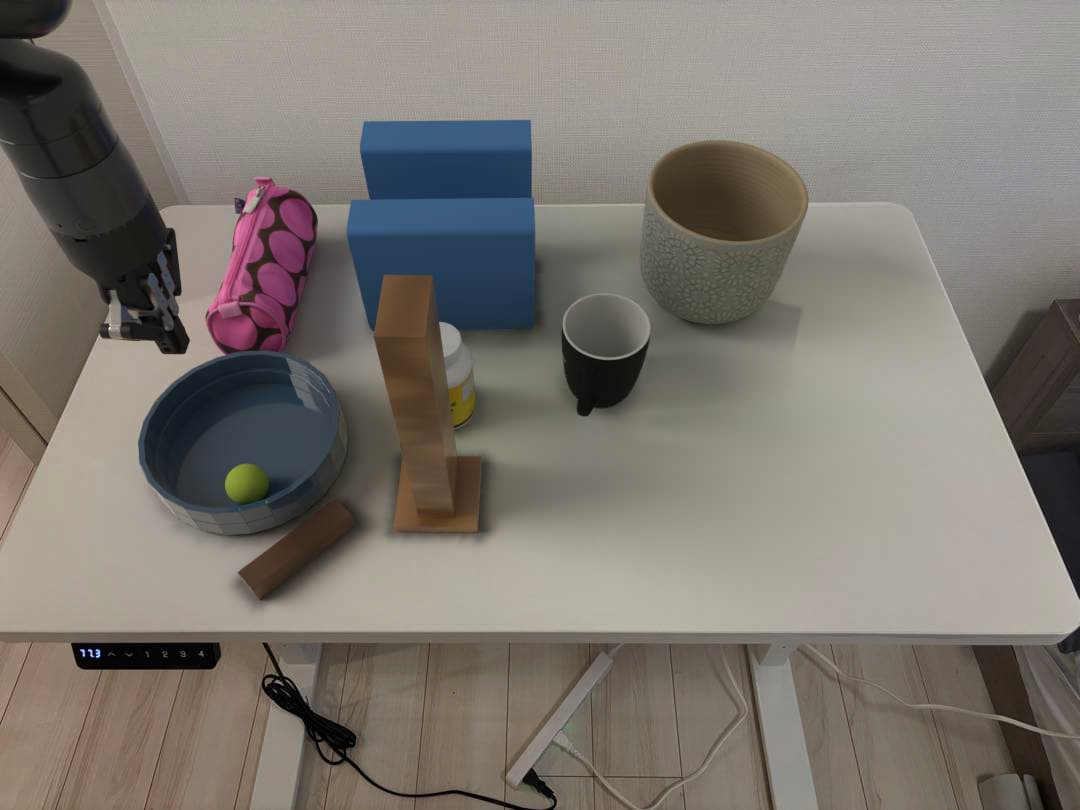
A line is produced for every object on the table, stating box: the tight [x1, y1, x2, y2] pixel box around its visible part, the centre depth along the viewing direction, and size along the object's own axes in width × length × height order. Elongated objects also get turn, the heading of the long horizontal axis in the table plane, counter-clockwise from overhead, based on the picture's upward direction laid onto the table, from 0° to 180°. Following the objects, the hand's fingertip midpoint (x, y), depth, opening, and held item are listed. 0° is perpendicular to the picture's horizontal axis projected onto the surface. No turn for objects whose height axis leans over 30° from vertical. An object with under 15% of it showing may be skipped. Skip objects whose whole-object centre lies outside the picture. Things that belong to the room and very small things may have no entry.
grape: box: [225, 464, 269, 505], centre depth 77 cm, size 4×4×4 cm
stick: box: [237, 497, 356, 601], centre depth 75 cm, size 11×2×2 cm, turn 135°
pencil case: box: [204, 176, 319, 356], centre depth 91 cm, size 21×10×10 cm, turn 2°
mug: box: [561, 292, 652, 418], centre depth 83 cm, size 12×9×10 cm
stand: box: [373, 275, 483, 533], centre depth 68 cm, size 8×8×28 cm
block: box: [346, 119, 536, 332], centre depth 88 cm, size 18×18×18 cm
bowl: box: [137, 350, 349, 536], centre depth 80 cm, size 19×19×5 cm
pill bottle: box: [439, 322, 477, 431], centre depth 81 cm, size 6×6×12 cm
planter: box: [639, 139, 809, 325], centre depth 90 cm, size 17×17×15 cm
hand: (177, 348), depth 73 cm, fingers closed
